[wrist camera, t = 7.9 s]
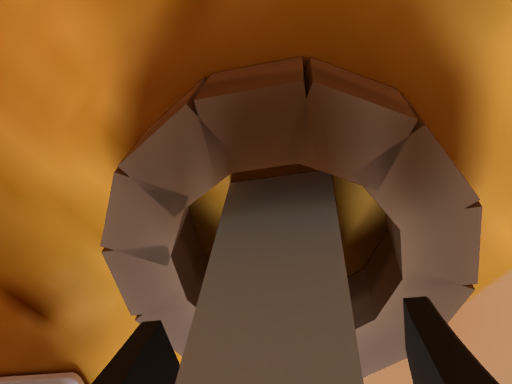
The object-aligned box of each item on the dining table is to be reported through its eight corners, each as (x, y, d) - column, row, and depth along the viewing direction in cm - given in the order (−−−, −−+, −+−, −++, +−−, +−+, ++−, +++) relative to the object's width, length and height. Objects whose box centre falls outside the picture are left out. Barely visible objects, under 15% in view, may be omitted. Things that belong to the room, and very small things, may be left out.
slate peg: (340, 251, 19) (379, 520, 10) (249, 260, 19) (212, 520, 11) (330, 169, 17) (368, 413, 8) (230, 182, 17) (164, 421, 9)
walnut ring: (449, 319, 20) (471, 375, 17) (182, 340, 22) (167, 393, 20) (454, 27, 14) (492, 47, 11) (84, 97, 16) (43, 127, 13)
